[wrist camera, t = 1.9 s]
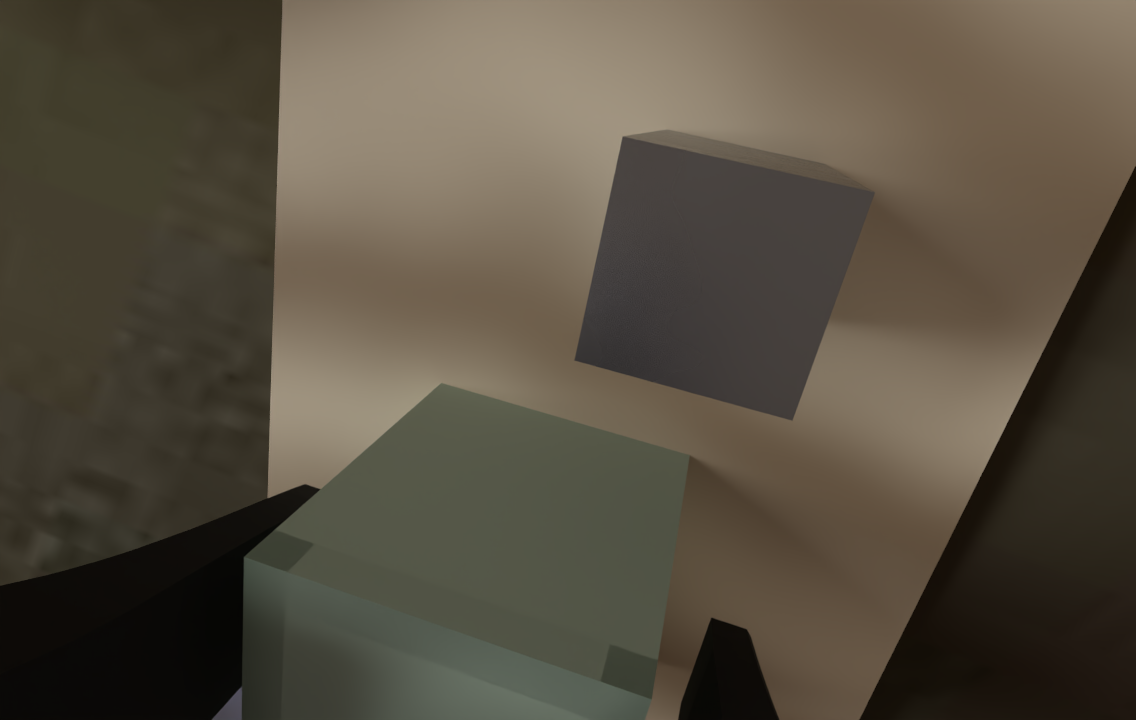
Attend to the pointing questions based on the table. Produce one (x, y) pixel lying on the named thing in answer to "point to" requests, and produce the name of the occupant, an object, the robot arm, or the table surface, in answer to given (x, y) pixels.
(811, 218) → the dark grey grained cube
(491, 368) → the base board
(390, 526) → the sage bevelled cube
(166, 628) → the robot arm
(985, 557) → the table surface
